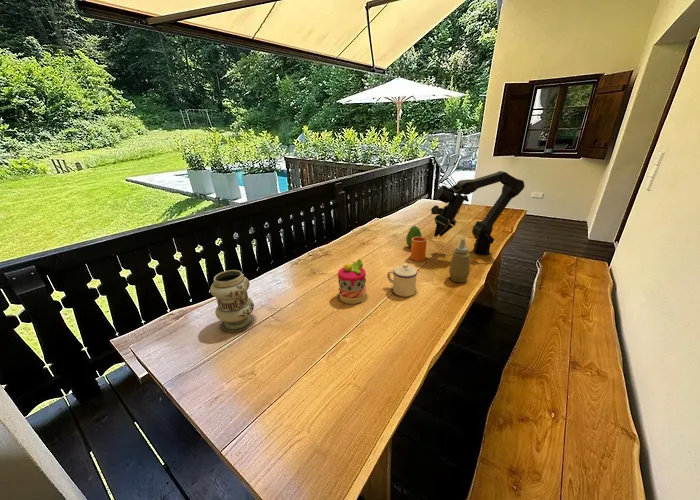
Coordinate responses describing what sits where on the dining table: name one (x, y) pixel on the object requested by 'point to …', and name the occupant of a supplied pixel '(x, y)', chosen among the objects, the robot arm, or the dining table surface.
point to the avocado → (413, 235)
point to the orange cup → (418, 248)
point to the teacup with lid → (403, 280)
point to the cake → (352, 282)
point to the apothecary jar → (232, 300)
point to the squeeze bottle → (460, 263)
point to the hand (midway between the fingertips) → (437, 236)
